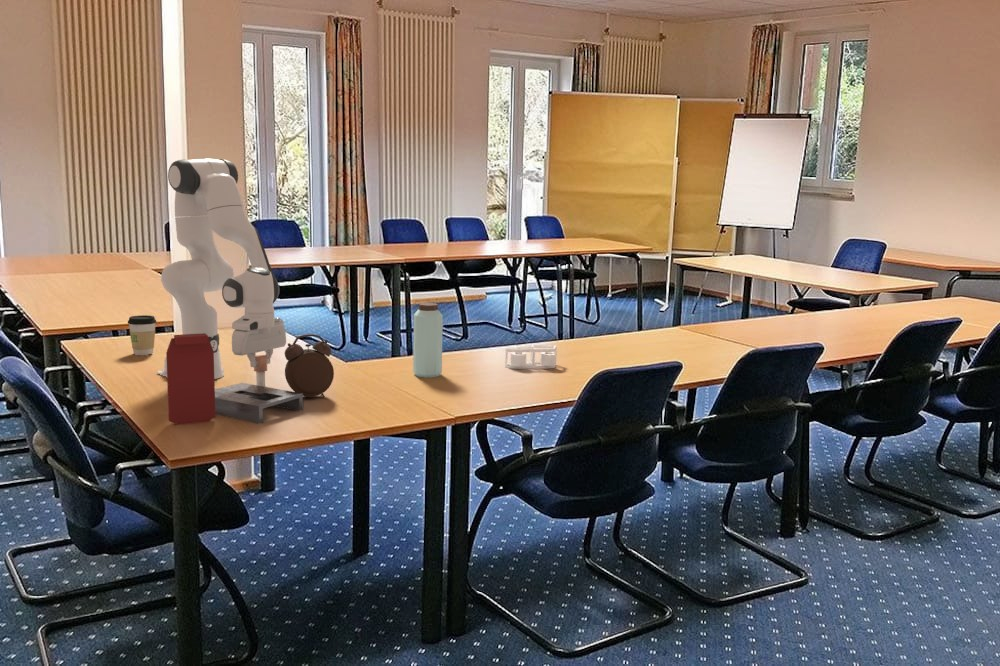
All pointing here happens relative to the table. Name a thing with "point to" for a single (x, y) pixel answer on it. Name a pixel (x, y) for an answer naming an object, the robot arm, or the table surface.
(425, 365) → the water bottle
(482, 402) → the table surface
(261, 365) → the peg
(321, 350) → the alarm clock
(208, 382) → the carton
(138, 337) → the coffee cup
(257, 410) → the keyhole board
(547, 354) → the white double holder
